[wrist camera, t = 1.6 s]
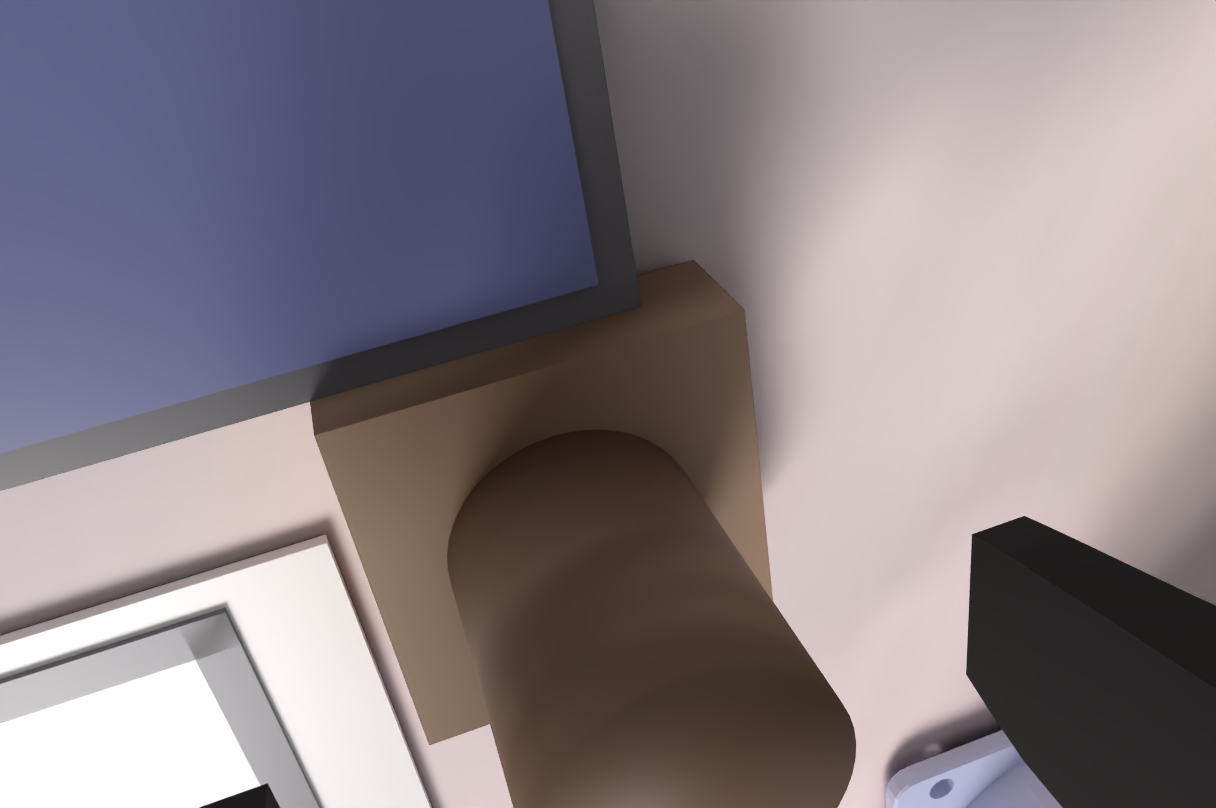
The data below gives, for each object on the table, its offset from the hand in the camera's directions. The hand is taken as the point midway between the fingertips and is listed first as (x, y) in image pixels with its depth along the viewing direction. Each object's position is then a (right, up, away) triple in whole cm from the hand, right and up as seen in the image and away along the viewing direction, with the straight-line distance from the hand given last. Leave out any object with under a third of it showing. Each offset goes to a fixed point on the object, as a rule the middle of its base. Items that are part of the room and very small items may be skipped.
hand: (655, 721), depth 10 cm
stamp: (-1, +2, +4) cm, 5 cm away
